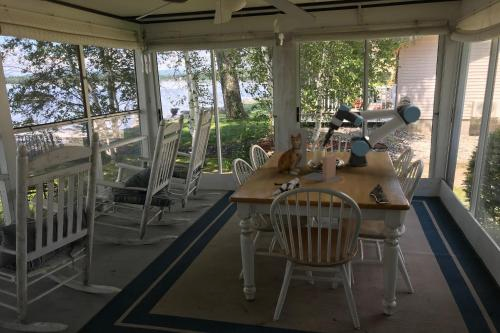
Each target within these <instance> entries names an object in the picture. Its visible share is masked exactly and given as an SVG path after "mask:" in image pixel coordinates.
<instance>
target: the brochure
mask: <svg viewBox="0 0 500 333" xmlns="http://www.w3.org/2000/svg"><path fill="white" fill-rule="evenodd" d="M287 131H288V132H287V133H288V135H287V138H288V140H287V142H288V144H287V145H288V148H287V149H288V150H290V149H291V148H293V146H292V144H291V135H293V136H294V137H297V136H298V133H300V134H301V140H302V158H301V160H300V163H299V164H298V165H297V166H296V168H307V162H308V161H307V160H308V159H307V155H308V154H307V152H308V151H307V150H308V148H307V147H308V143H307V140H308V130H307V128H306V127H300V128H299V127H298V128H295V127H294V128H292V127H291V128H290V127H289V128H288V129H287ZM288 150H287V151H288Z"/></svg>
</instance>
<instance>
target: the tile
mask: <svg viewBox="0 0 500 333" xmlns="http://www.w3.org/2000/svg"><path fill="white" fill-rule="evenodd" d="M336 167H337V154H333V153H331V154H329V155H324V156H322V174H323V175H322V180H324V181H327V180H330V179H332V178H335V176H337V174H336V173H337V171H336V169H337V168H336Z"/></svg>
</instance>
